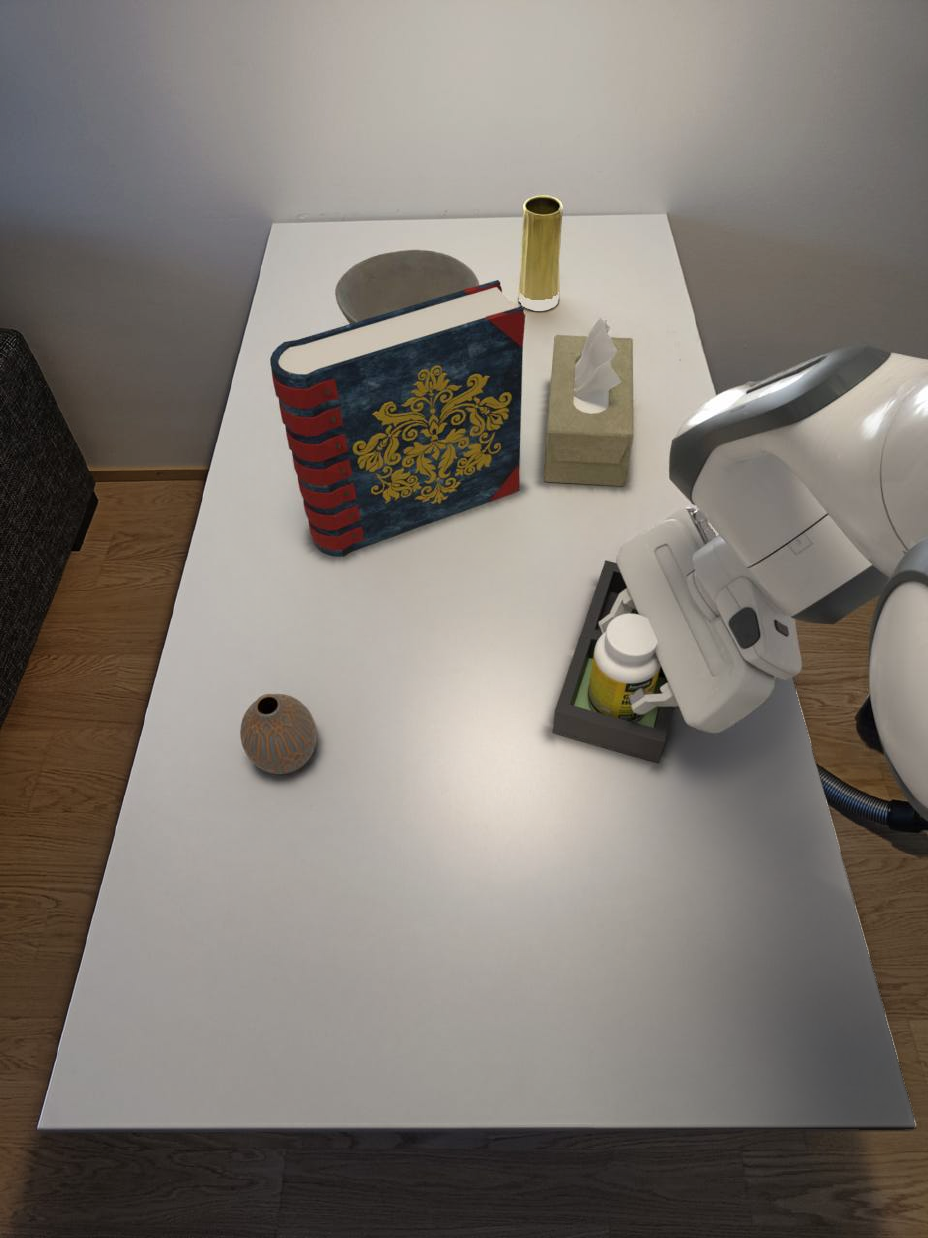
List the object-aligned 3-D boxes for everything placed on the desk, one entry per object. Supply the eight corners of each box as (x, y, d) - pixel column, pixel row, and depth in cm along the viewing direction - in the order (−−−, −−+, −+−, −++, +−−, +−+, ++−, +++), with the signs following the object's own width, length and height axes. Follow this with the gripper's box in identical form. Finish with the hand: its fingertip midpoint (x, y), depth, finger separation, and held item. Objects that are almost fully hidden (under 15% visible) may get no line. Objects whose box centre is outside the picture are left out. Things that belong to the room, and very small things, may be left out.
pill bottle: (620, 738, 84) (634, 675, 76) (573, 698, 87) (582, 632, 78) (663, 701, 87) (682, 635, 78) (616, 662, 90) (630, 595, 81)
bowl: (382, 414, 115) (374, 349, 107) (324, 338, 125) (312, 274, 117) (506, 366, 120) (506, 301, 112) (440, 298, 130) (436, 234, 122)
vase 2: (552, 315, 127) (558, 220, 115) (511, 307, 128) (513, 212, 117) (564, 292, 130) (571, 197, 119) (525, 284, 131) (528, 190, 120)
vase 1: (334, 759, 85) (320, 713, 78) (270, 797, 83) (249, 753, 76) (300, 709, 88) (284, 660, 81) (238, 744, 86) (215, 696, 79)
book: (323, 565, 100) (280, 387, 80) (303, 525, 103) (257, 345, 83) (522, 493, 105) (528, 311, 86) (496, 457, 109) (496, 275, 89)
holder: (658, 763, 84) (664, 742, 80) (552, 733, 86) (554, 711, 83) (696, 607, 95) (703, 583, 91) (601, 584, 97) (605, 560, 94)
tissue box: (625, 488, 105) (642, 381, 93) (543, 484, 106) (550, 376, 94) (625, 387, 117) (641, 279, 104) (551, 384, 118) (558, 276, 105)
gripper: (676, 484, 80) (565, 574, 86) (773, 668, 68) (634, 755, 74) (713, 510, 84) (604, 593, 90) (810, 687, 72) (676, 769, 78)
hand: (618, 668), depth 82 cm, fingers open, 7 cm apart
